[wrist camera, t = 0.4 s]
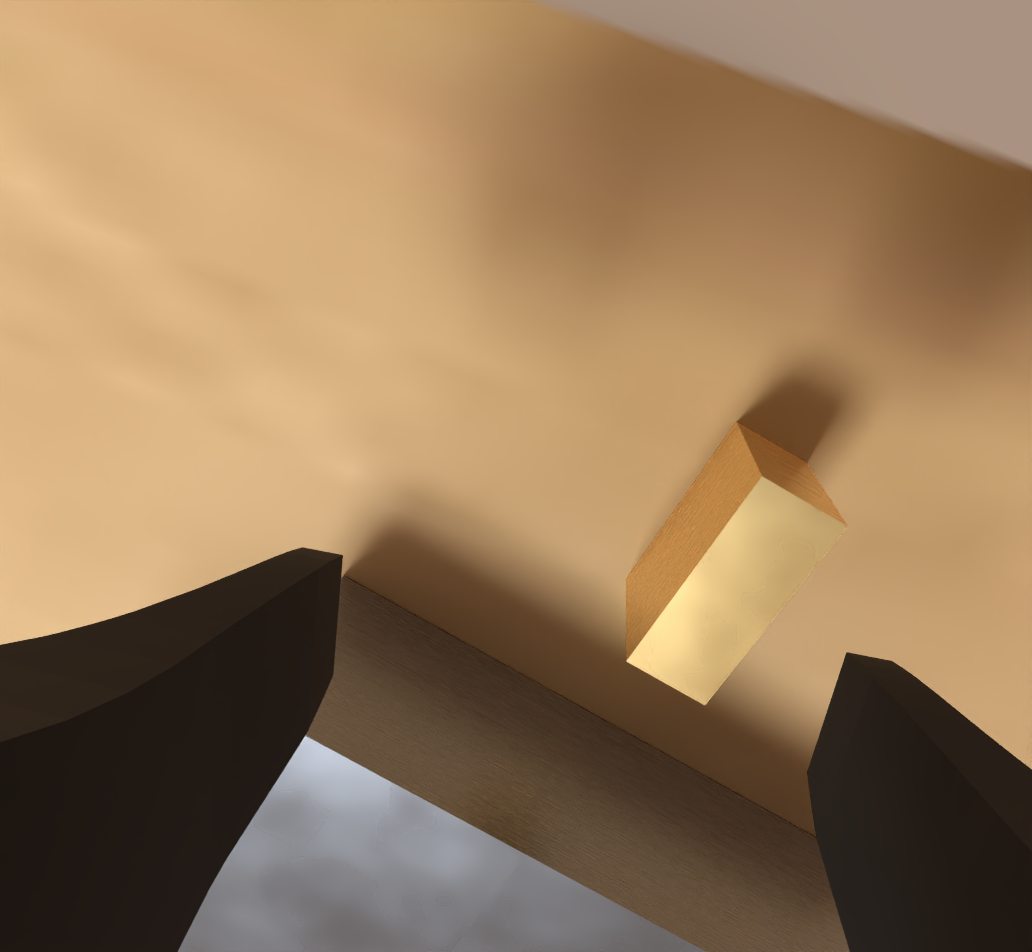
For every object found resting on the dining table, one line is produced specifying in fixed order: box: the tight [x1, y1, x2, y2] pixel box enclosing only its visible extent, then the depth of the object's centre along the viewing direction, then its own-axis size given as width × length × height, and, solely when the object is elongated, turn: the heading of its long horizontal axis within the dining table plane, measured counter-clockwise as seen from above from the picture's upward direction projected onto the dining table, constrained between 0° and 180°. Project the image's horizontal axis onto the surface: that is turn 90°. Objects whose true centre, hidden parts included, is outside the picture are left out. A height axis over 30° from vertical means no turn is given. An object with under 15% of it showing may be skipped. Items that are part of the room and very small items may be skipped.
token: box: [626, 422, 848, 705], centre depth 19 cm, size 2×5×4 cm, turn 151°
